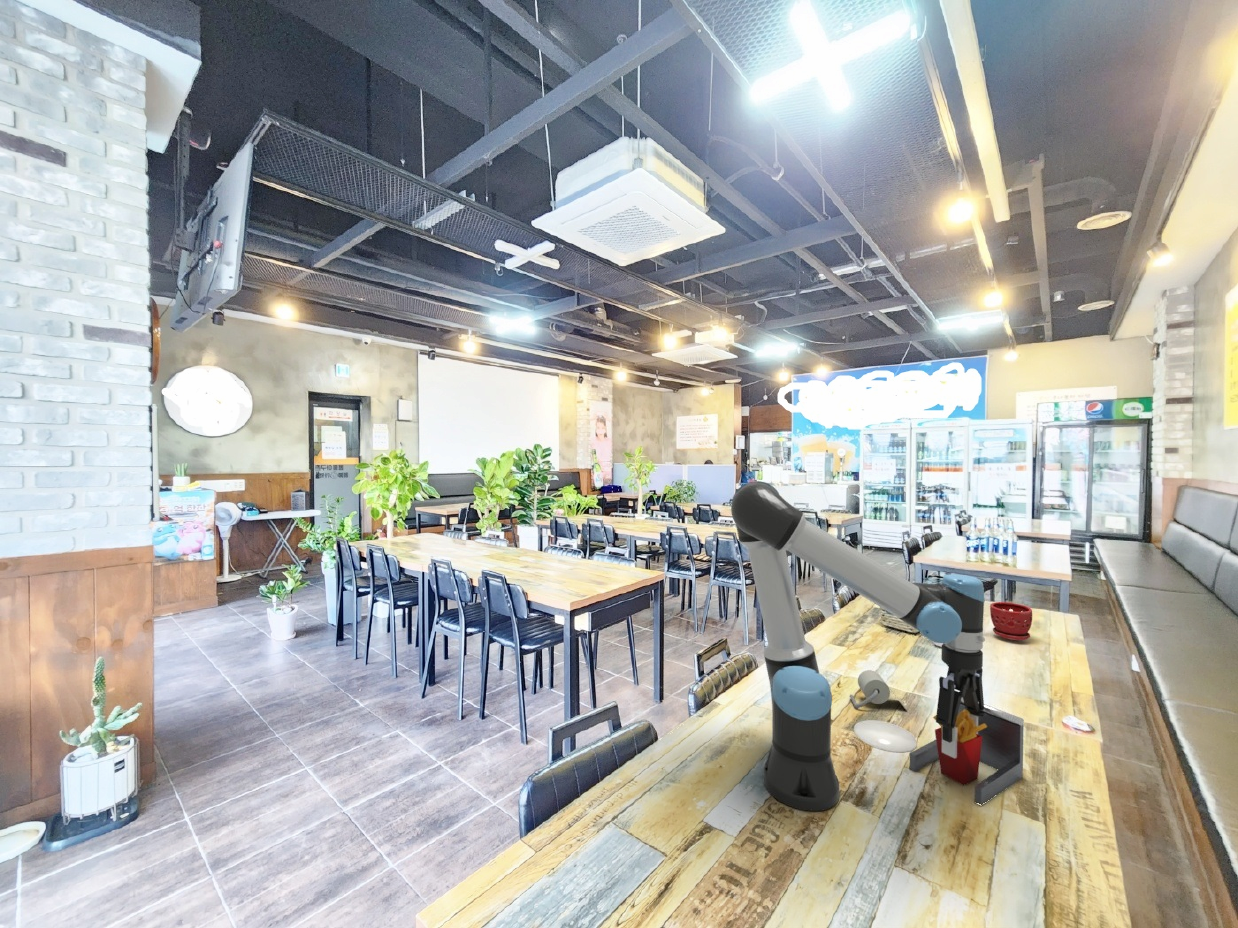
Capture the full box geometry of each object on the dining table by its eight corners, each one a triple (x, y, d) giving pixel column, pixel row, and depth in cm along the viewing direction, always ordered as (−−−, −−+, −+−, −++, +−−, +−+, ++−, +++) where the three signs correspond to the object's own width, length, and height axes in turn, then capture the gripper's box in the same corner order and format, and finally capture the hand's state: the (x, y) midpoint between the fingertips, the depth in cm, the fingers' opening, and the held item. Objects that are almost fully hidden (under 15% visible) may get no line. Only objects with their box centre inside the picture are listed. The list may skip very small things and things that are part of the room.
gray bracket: (981, 808, 103) (982, 741, 103) (909, 770, 115) (910, 710, 115) (1022, 778, 112) (1023, 717, 112) (952, 746, 125) (953, 691, 124)
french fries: (934, 772, 114) (932, 706, 114) (958, 761, 118) (956, 697, 117) (974, 796, 106) (973, 726, 106) (999, 784, 110) (998, 716, 109)
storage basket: (915, 635, 202) (916, 598, 201) (875, 624, 215) (875, 589, 215) (943, 623, 215) (944, 589, 215) (904, 614, 228) (904, 581, 228)
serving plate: (895, 760, 119) (895, 757, 119) (842, 732, 131) (842, 729, 131) (928, 743, 126) (928, 739, 126) (875, 717, 138) (875, 715, 138)
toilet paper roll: (910, 715, 139) (881, 678, 141) (877, 736, 141) (848, 699, 142) (897, 698, 149) (870, 663, 151) (866, 717, 151) (840, 683, 153)
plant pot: (989, 628, 209) (990, 599, 209) (1030, 635, 201) (1031, 605, 201) (989, 637, 199) (990, 607, 198) (1033, 645, 191) (1033, 613, 191)
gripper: (955, 662, 103) (953, 772, 104) (1004, 643, 114) (1002, 743, 115) (917, 650, 110) (915, 754, 110) (967, 632, 121) (965, 727, 121)
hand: (959, 748), depth 112 cm, fingers closed on french fries, 8 cm apart
